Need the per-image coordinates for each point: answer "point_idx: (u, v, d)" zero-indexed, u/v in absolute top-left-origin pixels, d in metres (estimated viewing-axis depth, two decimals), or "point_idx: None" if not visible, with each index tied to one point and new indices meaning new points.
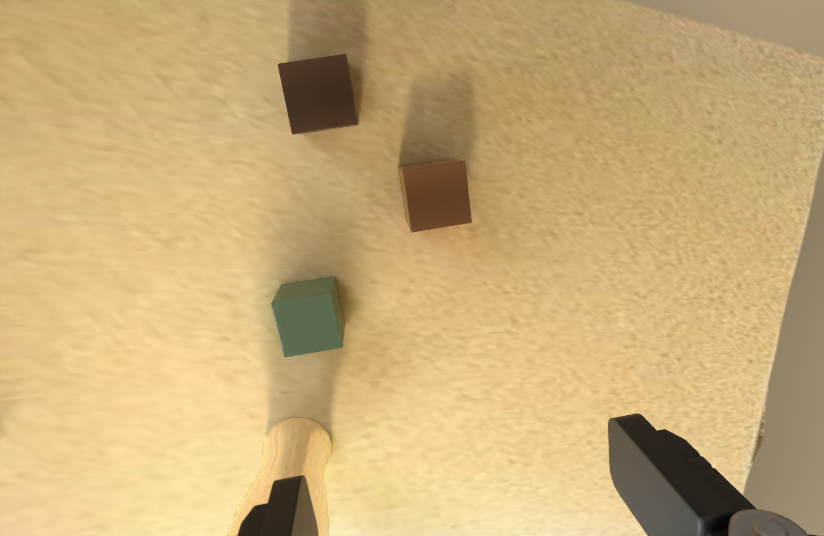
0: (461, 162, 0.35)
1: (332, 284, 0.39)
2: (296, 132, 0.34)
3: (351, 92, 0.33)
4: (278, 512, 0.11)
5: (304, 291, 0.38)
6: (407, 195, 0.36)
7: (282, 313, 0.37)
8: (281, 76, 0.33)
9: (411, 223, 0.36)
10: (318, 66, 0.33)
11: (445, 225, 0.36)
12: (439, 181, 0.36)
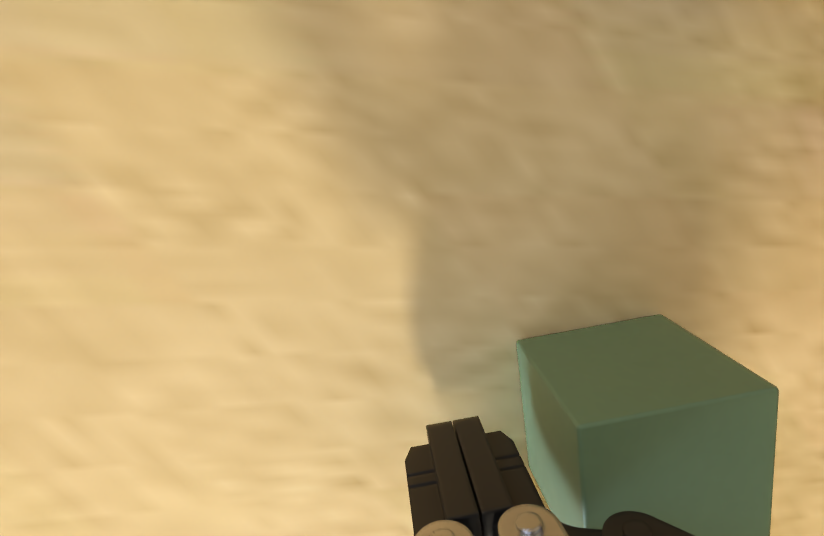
0: None
1: (715, 348, 0.13)
2: None
3: None
4: (443, 449, 0.12)
5: (649, 374, 0.12)
6: None
7: (610, 460, 0.11)
8: None
9: None
10: None
11: None
12: None
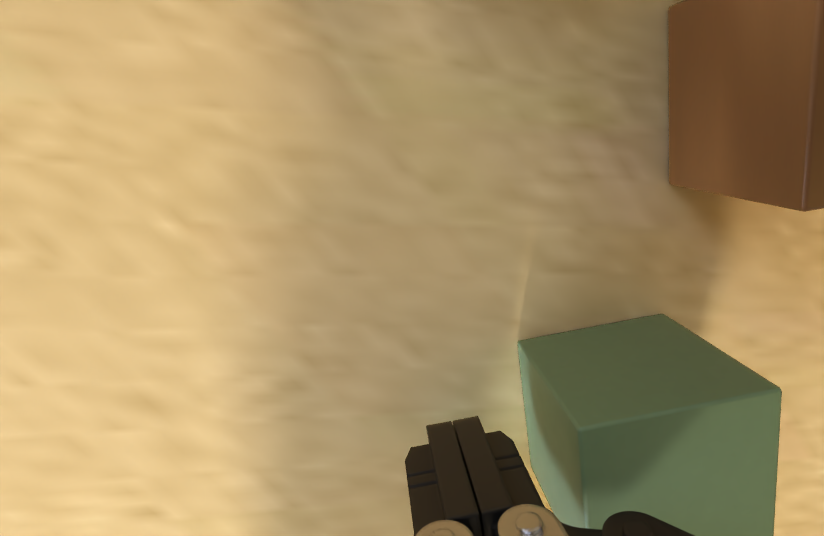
0: None
1: (717, 348, 0.13)
2: None
3: None
4: (443, 449, 0.12)
5: (650, 375, 0.12)
6: (821, 59, 0.09)
7: (611, 461, 0.11)
8: None
9: (811, 176, 0.09)
10: None
11: None
12: None
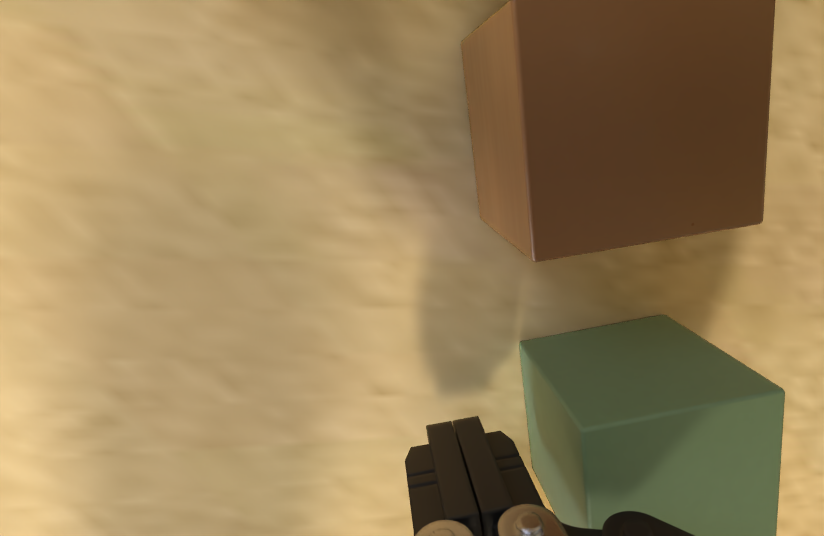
0: None
1: (719, 349, 0.13)
2: None
3: None
4: (443, 449, 0.12)
5: (653, 376, 0.12)
6: (527, 110, 0.08)
7: (614, 463, 0.11)
8: None
9: (535, 227, 0.09)
10: None
11: (664, 235, 0.09)
12: (662, 51, 0.08)
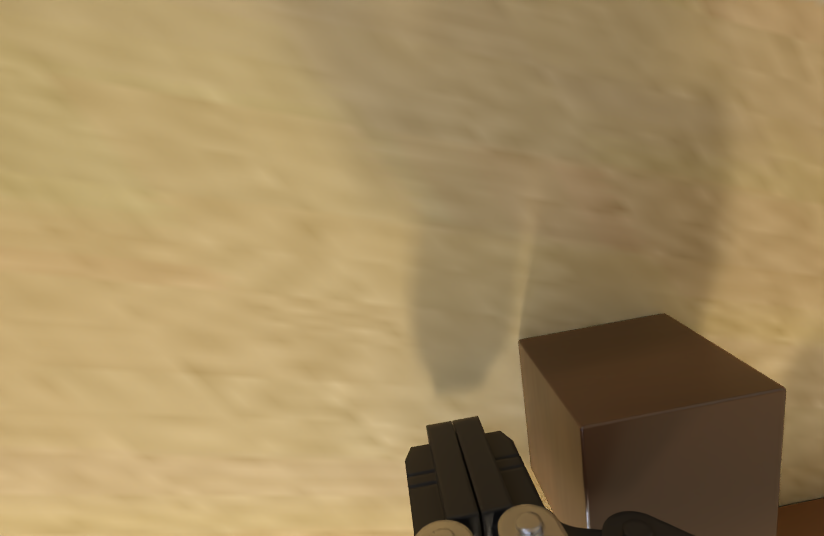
0: None
1: None
2: None
3: (778, 482, 0.11)
4: (444, 449, 0.12)
5: None
6: None
7: None
8: (586, 457, 0.11)
9: None
10: (699, 426, 0.11)
11: None
12: None
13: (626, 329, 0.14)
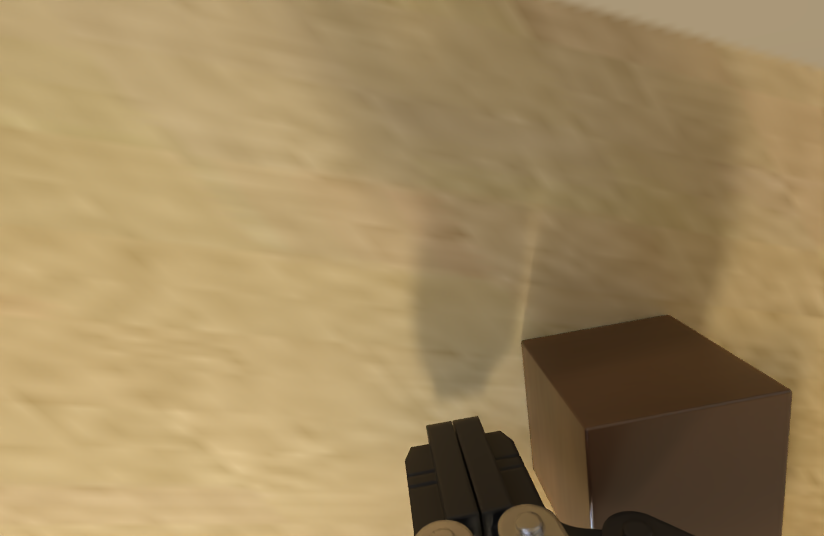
0: None
1: None
2: None
3: (783, 485, 0.11)
4: (443, 449, 0.12)
5: None
6: None
7: None
8: (591, 460, 0.11)
9: None
10: (704, 428, 0.11)
11: None
12: None
13: (630, 330, 0.14)
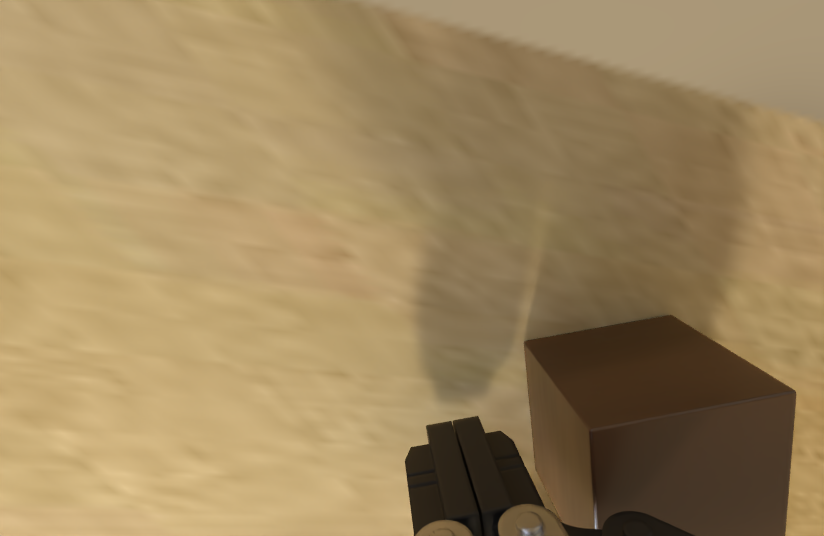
0: None
1: None
2: None
3: (787, 486, 0.11)
4: (444, 449, 0.12)
5: None
6: None
7: None
8: (595, 460, 0.11)
9: None
10: (709, 429, 0.11)
11: None
12: None
13: (633, 330, 0.14)
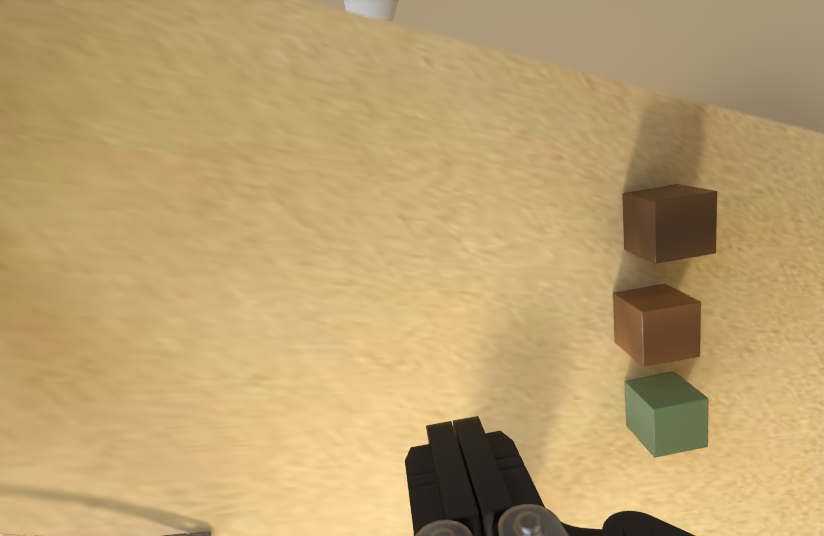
0: (697, 303, 0.37)
1: (691, 385, 0.41)
2: (659, 262, 0.35)
3: (715, 225, 0.35)
4: (443, 449, 0.12)
5: (671, 394, 0.40)
6: (644, 334, 0.37)
7: (661, 418, 0.39)
8: (655, 212, 0.35)
9: (644, 359, 0.38)
10: (690, 202, 0.35)
11: (675, 359, 0.38)
12: (675, 320, 0.37)
13: (664, 187, 0.38)
